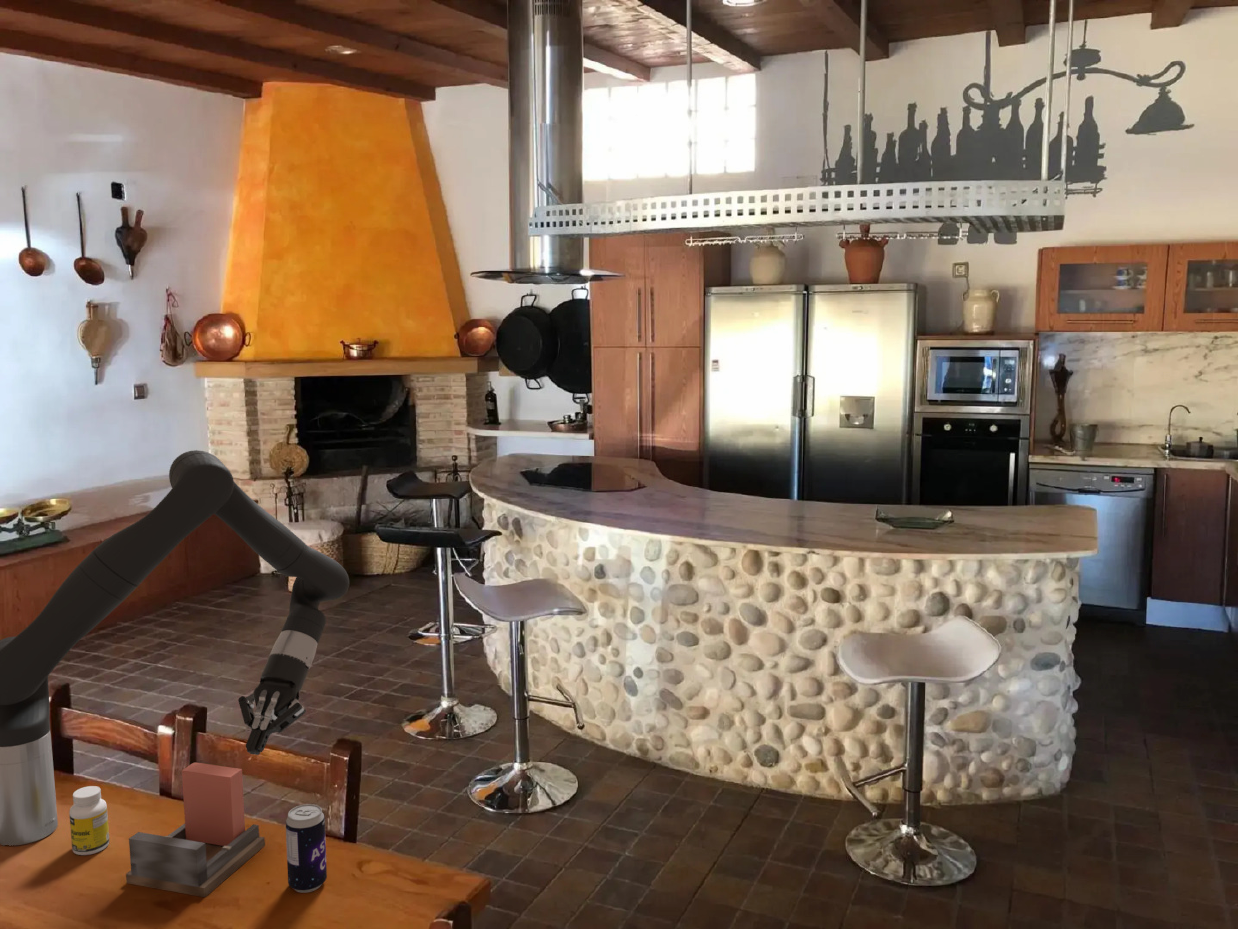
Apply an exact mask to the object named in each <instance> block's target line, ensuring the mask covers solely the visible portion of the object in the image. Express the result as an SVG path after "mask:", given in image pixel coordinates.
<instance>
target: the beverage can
mask: <svg viewBox="0 0 1238 929" xmlns="http://www.w3.org/2000/svg"><path fill="white" fill-rule="evenodd" d="M326 840H327V839H326V818H325V815H324V813H323V810H322V807H320V806H319V805H317V804H313V803H306V804H300V805H297V806H295V807H293V808H291V809H290V810H289V811H288V813H287V818H286V820H285V841H286V844H285V845H286V859H287V860H286V863H287V864H286V867H287V884H288V886H289V887H290V888H291V889H293V890H294V891H296V892H297V893H302V894H303V893H305V894H306V893H311V892H314V891H316V890H317V889H319V888H321V886H322V885H323V884H324V883H325V882H326V880H327V878H328V873H327V872H328V871H327V848H326V847H327V846H326V844H327V843H326V842H327V841H326Z"/></svg>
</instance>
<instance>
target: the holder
mask: <svg viewBox="0 0 1238 929" xmlns="http://www.w3.org/2000/svg"><path fill="white" fill-rule="evenodd" d="M259 828H260V825H259V824H252V825H251V826H250V827H248V828H247V829H245V831H244V832H243V833H242V834H241V835H239V836H238V837H237V838H236V839H235V840H233V841H232V842H231V843H230V844H228V845H227V846H222V845H216V844H209V843H203V842H197V841H191V840H186V831H185V823H183V824H182V825H180V826H178V828H176V829H175V830H173V831H172V832H171V833H170V834H168V835H159V834H153V833H146V832H140V831H137V832H136V833H134V834H133V835H132V836H130V837H129V838H128V844H129V848H128V849H129V861H130V870H129V871H128V872H127V873H125V878H126V880H125V882H126V884H129V885H136V886H141V887H147V888H150V889H151V888H153V889H156V890H157V889H158V890H162V891H168V892H169V891H170V892H174V893H180V894H184V895H191V896H196V897H201V898H206V897H207V896H208V895H210V894H211V893H212V892H213V891H214V890H216V889H217V888H218V887H219V886H220V885H222V883H223V882H224V881H226V880H227V879H228V878H229V877H230V876H232V875H233V874H234V873H235V872H236V871H237V870H239V869H240V868H241V867H242V866H243V865H244V864H246V863H247V862H248V861H249V860H250V859H252V857H254V856H255V855H256V854H257V853H258V852H259V851H260V850H262V849H263V848H264V847H265V846H266V844H265V842H266V840H265V837H264V836H260V829H259Z"/></svg>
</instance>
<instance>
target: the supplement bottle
mask: <svg viewBox="0 0 1238 929" xmlns="http://www.w3.org/2000/svg"><path fill="white" fill-rule="evenodd" d="M101 792H102V790H101V788H100V786H96V785H89V786H84V787H81V788H78V789H77V790H74V792H73V794H72V802H73V805H71V807H70V809H69V814H68V815H69V825H70V838H71V849H72V850H71V851H72V852H73V853H74V854H76V855H77V856H79V855H80V856H89V855H93V854H96V853H99V852H101V851H102V850H105V849H106V848H107V847H108V846H109V843H110V833H109V832H110V830H109V816H108V807H107V802H106V800H104V799H103V798H102V793H101Z"/></svg>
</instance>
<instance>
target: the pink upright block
mask: <svg viewBox="0 0 1238 929" xmlns="http://www.w3.org/2000/svg"><path fill="white" fill-rule="evenodd" d="M181 775H182V776H181V778H182V794H183V797H182V798H183V813H184V824H185V831H186V840H191V841H197V842H203V843H209V844H216V845H222V846H227V845H228V844H230V843H231V842H232V841H233V840H235V839H236V838H237V837H238V836H239V835H241V834H242V833H243V832H244V831H246V823H245V822H246V821H245V803H244V801H245V800H244V799H245V797H244V781H243V769H242V768H236V767H229V766H224V765H215V764H210V763H201V762H193V763H191V764H189V765H188V766H186V767H185V768H183V769H182V770H181Z"/></svg>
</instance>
